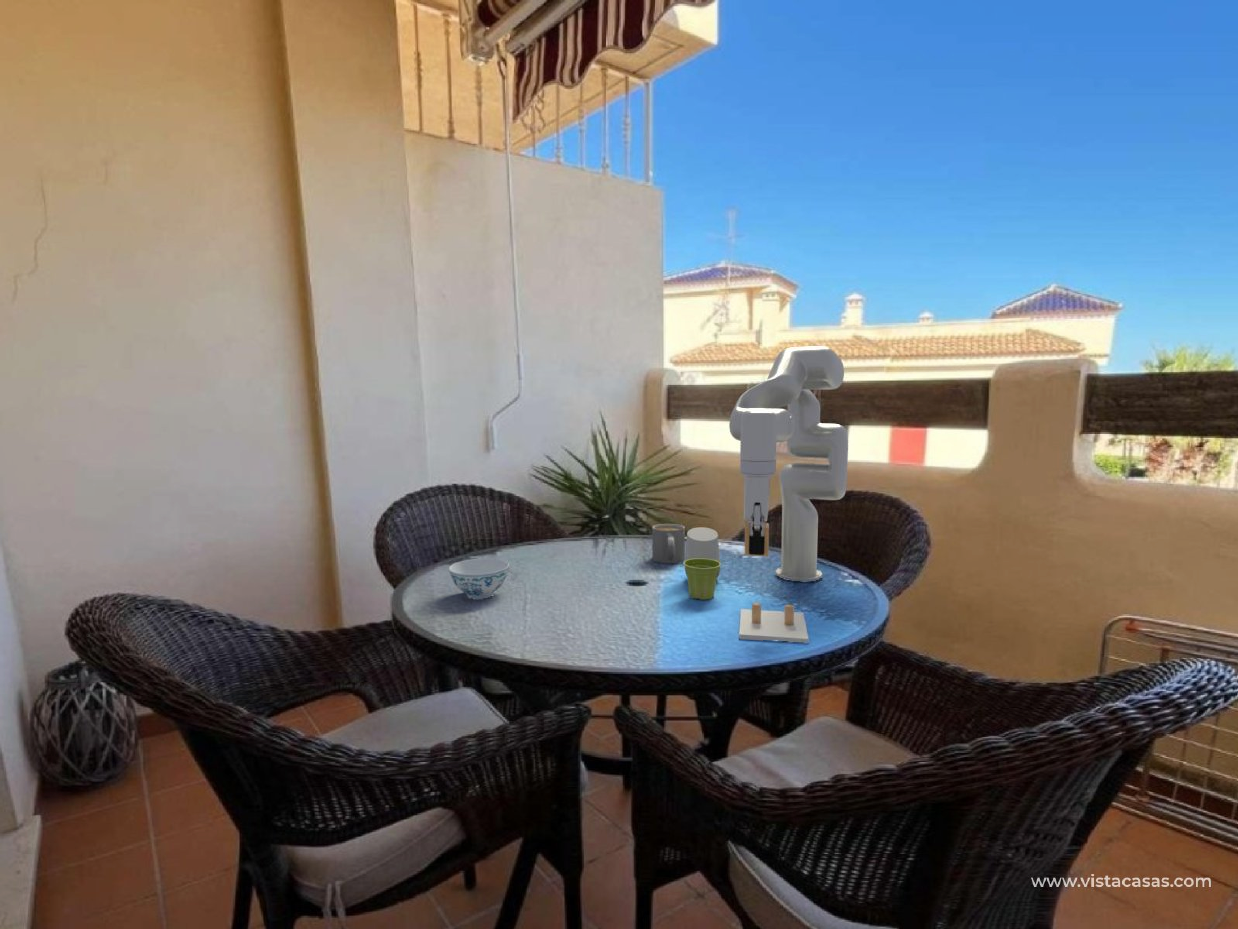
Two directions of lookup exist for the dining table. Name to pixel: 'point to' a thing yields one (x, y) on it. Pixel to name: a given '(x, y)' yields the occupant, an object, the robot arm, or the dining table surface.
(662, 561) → the coffee mug
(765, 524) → the tan cardboard-like box
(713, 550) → the smart speaker
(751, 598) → the dining table surface
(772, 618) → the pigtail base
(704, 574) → the plant pot
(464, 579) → the chinaware
